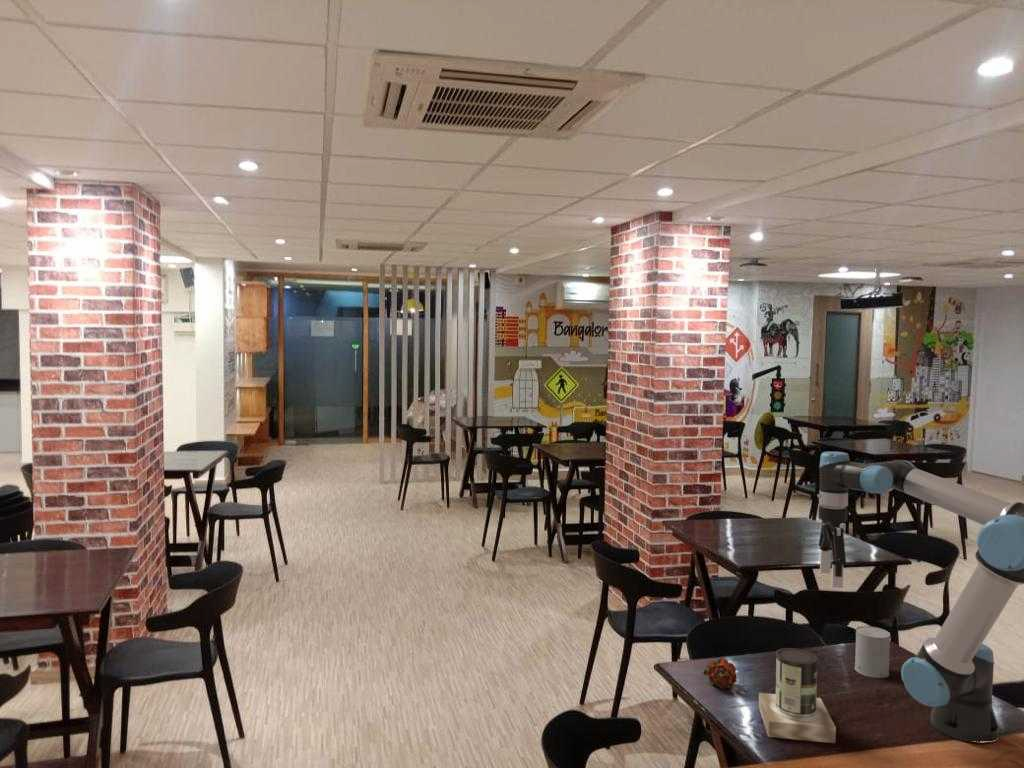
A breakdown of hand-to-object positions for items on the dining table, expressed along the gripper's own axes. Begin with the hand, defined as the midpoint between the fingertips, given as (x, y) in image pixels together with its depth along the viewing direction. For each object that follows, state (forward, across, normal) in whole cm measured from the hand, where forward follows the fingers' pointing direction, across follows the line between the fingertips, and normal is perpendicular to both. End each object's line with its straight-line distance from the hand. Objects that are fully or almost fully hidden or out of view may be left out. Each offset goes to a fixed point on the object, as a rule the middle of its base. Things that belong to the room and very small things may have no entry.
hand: (830, 580), depth 210 cm
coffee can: (+29, +21, -13) cm, 38 cm away
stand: (+33, +21, -13) cm, 41 cm away
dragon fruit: (+33, +1, -30) cm, 45 cm away
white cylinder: (+33, -18, +17) cm, 41 cm away
